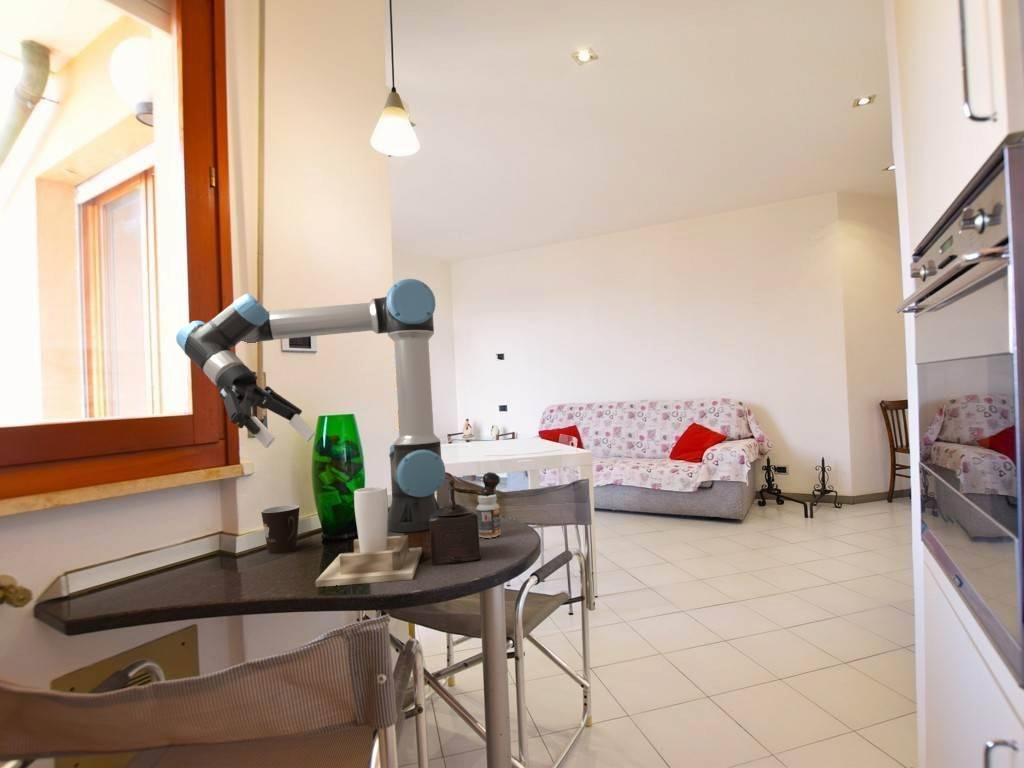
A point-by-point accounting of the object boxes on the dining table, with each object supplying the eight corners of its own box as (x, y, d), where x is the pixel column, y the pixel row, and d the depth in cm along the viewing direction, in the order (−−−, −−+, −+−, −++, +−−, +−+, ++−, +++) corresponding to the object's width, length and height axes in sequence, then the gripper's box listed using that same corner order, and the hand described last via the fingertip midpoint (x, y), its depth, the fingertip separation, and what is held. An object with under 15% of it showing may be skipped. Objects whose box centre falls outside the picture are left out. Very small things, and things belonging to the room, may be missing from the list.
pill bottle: (500, 538, 127) (498, 497, 127) (476, 539, 127) (474, 498, 127) (501, 532, 132) (499, 493, 133) (478, 534, 132) (476, 494, 133)
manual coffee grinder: (430, 566, 108) (425, 478, 108) (431, 552, 119) (427, 471, 119) (505, 559, 110) (500, 472, 110) (500, 545, 121) (495, 466, 121)
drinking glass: (395, 556, 112) (392, 485, 113) (383, 566, 105) (379, 491, 106) (365, 557, 113) (362, 487, 114) (351, 567, 106) (347, 492, 107)
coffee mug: (264, 548, 131) (262, 507, 131) (301, 543, 134) (300, 503, 134) (259, 560, 120) (258, 516, 120) (300, 554, 123) (298, 511, 123)
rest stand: (315, 587, 99) (314, 562, 99) (340, 559, 117) (339, 537, 117) (412, 579, 100) (410, 554, 101) (421, 552, 118) (420, 531, 119)
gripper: (260, 388, 131) (316, 446, 127) (173, 387, 107) (239, 459, 102) (278, 365, 130) (335, 423, 126) (194, 359, 105) (261, 431, 101)
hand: (292, 440), depth 114 cm, fingers open, 13 cm apart
